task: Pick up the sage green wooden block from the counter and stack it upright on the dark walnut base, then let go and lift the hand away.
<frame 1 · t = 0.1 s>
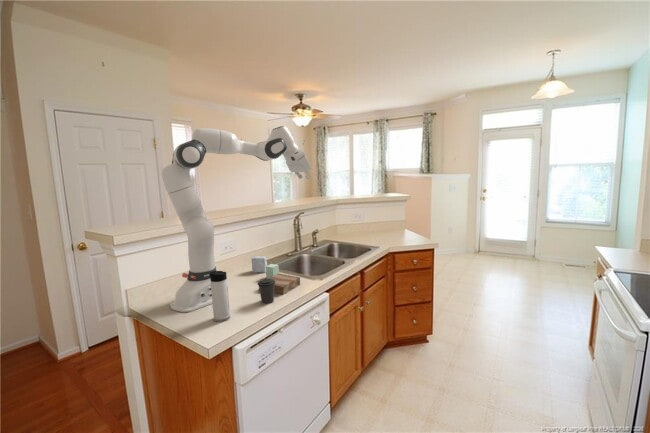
hand: (304, 178, 163), 54 cm above the countertop, tool tilted 30°, fingers open, 8 cm apart
walnut base: (281, 287, 152), on the countertop
medicine box: (260, 271, 178), on the countertop
travel mug: (221, 319, 121), on the countertop
coffee cup: (267, 301, 136), on the countertop
sage block: (272, 277, 167), on the countertop
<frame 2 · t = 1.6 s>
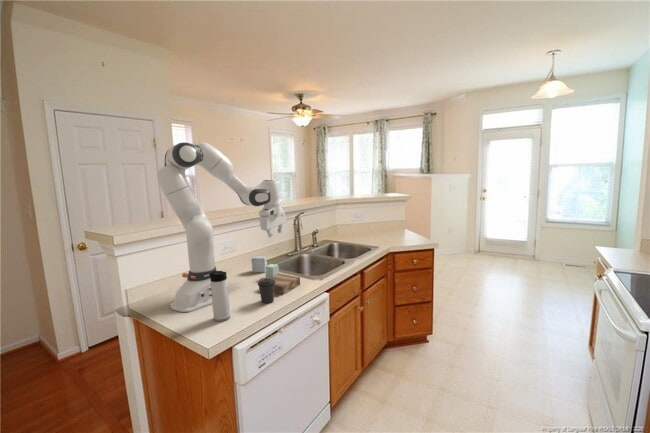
hand: (275, 234, 165), 24 cm above the countertop, tool pointing down, fingers open, 8 cm apart
nothing on the countertop moved.
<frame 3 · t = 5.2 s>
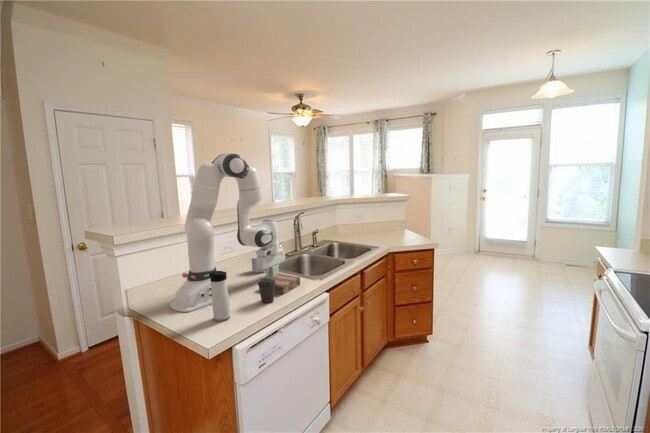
hand: (272, 273, 166), 3 cm above the countertop, tool pointing down, fingers closed on sage block, 5 cm apart
sage block: (272, 277, 167), on the countertop, touching gripper
everything else where it was.
when the fingers open (8 cm above the countertop, at t = 14.5 s): sage block drops 1 cm, resting on walnut base.
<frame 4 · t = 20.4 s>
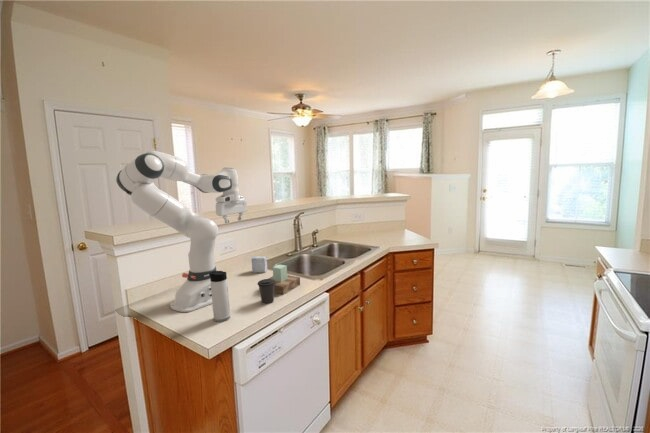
hand: (233, 221, 169), 31 cm above the countertop, tool pointing down, fingers open, 8 cm apart
sage block: (280, 279, 152), point 4 cm above the countertop, touching walnut base
everything else where it was.
at the end: sage block inside the target area on the walnut base (0.1 cm from its centre), point 4.0 cm above the walnut base's base; sage block tilted 0°; the gripper is holding nothing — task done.
